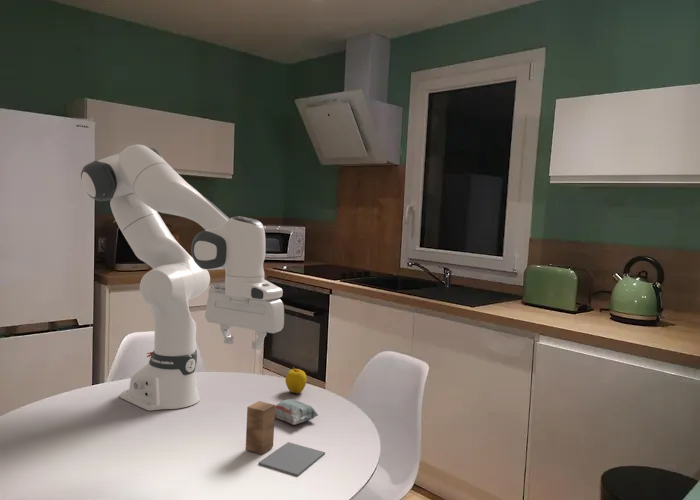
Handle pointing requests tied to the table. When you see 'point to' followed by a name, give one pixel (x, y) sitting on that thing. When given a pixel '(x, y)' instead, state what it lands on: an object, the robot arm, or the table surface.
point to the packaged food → (294, 411)
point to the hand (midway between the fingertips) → (242, 346)
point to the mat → (292, 458)
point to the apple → (296, 380)
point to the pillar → (260, 427)
